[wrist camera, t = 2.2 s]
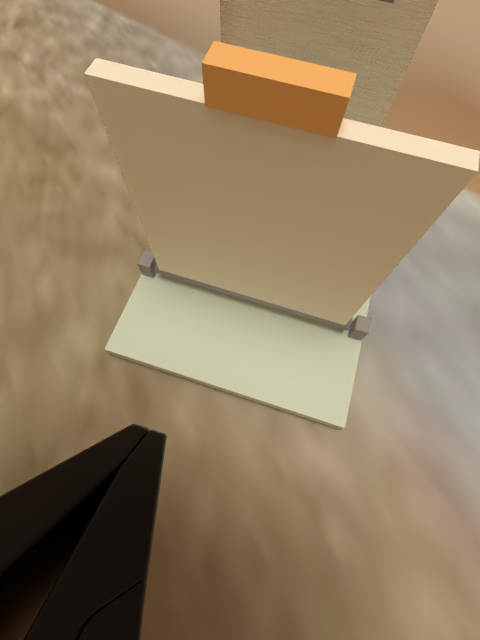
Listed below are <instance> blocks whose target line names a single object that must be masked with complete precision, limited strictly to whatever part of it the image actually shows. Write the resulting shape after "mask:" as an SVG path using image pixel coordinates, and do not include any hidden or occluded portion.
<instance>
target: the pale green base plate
mask: <svg viewBox="0 0 480 640" xmlns="http://www.w3.org/2000/svg"><path fill="white" fill-rule="evenodd" d="M155 264H156V261H155V258H154V255H153V253H148V252H145V251H144V252H143V254H142V256H141V258H140V260H139V262H138V266H139V268H140V270H141V272H142V274H141V276H140V278H139V280H138V282H137V284H136V286H135V288H134V290H133V292H132V295H131V297H130V299H129V301H128V303H127V305H126V307H125V309H124V311H123V313H122V315H121V317H120V319H119V321H118V323H117V325H116V327H115V329H114V331H113V333H112V335H111V337H110V339H109V341H108V343H107V345H106V347H105V350H106V351H107V352H108V353H109V354H111V355H114V356H118V357H121V358H124V359H127V360H130V361H133V362H136V363H139V364H142V365H145V366H148V367H151V368H154V369H157V370H160V371H163V372H166V373H169V374H172V375H175V376H178V377H181V378H184V379H188V380H191V381H194V382H197V383H200V384H203V385H206V386H209V387H212V388H215V389H218V390H221V391H224V392H227V393H230V394H233V395H236V396H239V397H242V398H245V399H248V400H251V401H254V402H258V403H261V404H264V405H267V406H270V407H273V408H276V409H279V410H282V411H285V412H288V413H291V414H294V415H297V416H300V417H303V418H306V419H309V420H312V421H315V422H318V423H321V424H324V425H328V426H331V427H334V428H337V429H343V428H345V425H346V420H347V415H348V409H349V404H350V399H351V394H352V389H353V384H354V379H355V374H356V368H357V363H358V358H359V353H360V348H361V343H362V339H363V338H364V337H365V336H366V335H367V334H368V333H369V328H370V323H371V318H368V317H367V312H368V307H369V302H370V297H371V296H370V297H369V298H368V300H367V301H366V302H365V303H364V304H363V305H362V306H361V308H360V309H359V310H358V311H357V312H356V313H355V315H354V316H353V319H352V323H351V326H350V328H349V330H348V331H347V330H343V329H340V328H337V327H334V326H330V325H327V324H324V323H320V322H317V321H314V320H310V319H307V318H304V317H300V316H297V315H294V314H290V313H287V312H284V311H280V310H277V309H274V308H270V307H267V306H264V305H260V304H257V303H254V302H250V301H247V300H244V299H240V298H237V297H234V296H230V295H227V294H224V293H220V292H217V291H214V290H211V289H207V288H204V287H201V286H197V285H194V284H191V283H187V282H184V281H181V280H177V279H174V278H171V277H167V276H164V275H161V274H157V273H155Z"/></svg>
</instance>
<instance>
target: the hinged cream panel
mask: <svg viewBox="0 0 480 640" xmlns="http://www.w3.org/2000/svg"><path fill="white" fill-rule="evenodd" d="M202 73H203V84H201V83H197V82H193V81H189V80H185V79H180V78H176V77H172V76H168V75H164V74H160V73H156V72H152V71H148V70H143V69H139V68H135V67H131V66H127V65H123V64H119V63H115V62H110V61H106V60H102V59H98V58H96V59H95V60H94V61H93V63H92V64H91V65H90V67H89V68H88V69H87V71H86V72H85V73H84V74H85V77H86V80H87V82H88V85H89V87H90V90H91V93H92V95H93V98H94V101H95V103H96V106H97V108H98V111H99V114H100V116H101V119H102V122H103V124H104V127H105V129H106V132H107V135H108V137H109V140H110V143H111V145H112V148H113V150H114V153H115V156H116V158H117V161H118V164H119V166H120V169H121V171H122V174H123V177H124V179H125V182H126V185H127V187H128V190H129V192H130V195H131V198H132V200H133V203H134V205H135V208H136V211H137V213H138V216H139V219H140V221H141V224H142V226H143V229H144V232H145V234H146V237H147V240H148V242H149V245H150V247H151V250H152V253H153V255H154V258H155V261H156V264H155V273H157V274H161V275H164V276H167V277H171V278H174V279H177V280H181V281H184V282H187V283H191V284H194V285H197V286H201V287H204V288H207V289H211V290H214V291H217V292H220V293H224V294H227V295H230V296H234V297H237V298H240V299H244V300H247V301H250V302H254V303H257V304H260V305H264V306H267V307H270V308H274V309H277V310H280V311H284V312H287V313H290V314H294V315H297V316H300V317H304V318H307V319H310V320H314V321H317V322H320V323H324V324H327V325H330V326H334V327H337V328H340V329H343V330H347V331H348V330H349V328H350V326H351V323H352V319H353V316H354V315H355V313H356V312H357V311H358V310H359V309H360V308H361V306H362V305H363V304H364V303H365V302H366V301H367V300H368V298H369V297H370V296H371V295H372V294H373V293H374V291H375V290H376V289H377V288H378V287H379V286H380V284H381V283H382V282H383V281H384V280H385V279H386V278H387V276H388V275H389V274H390V273H391V272H392V271H393V269H394V268H395V267H396V266H397V265H398V264H399V262H400V261H401V260H402V259H403V258H404V257H405V256H406V254H407V253H408V252H409V251H410V250H411V249H412V247H413V246H414V245H415V244H416V243H417V242H418V240H419V239H420V238H421V237H422V236H423V235H424V234H425V232H426V231H427V230H428V229H429V228H430V227H431V225H432V224H433V223H434V222H435V221H436V220H437V218H438V217H439V216H440V215H441V214H442V213H443V212H444V210H445V209H446V208H447V207H448V206H449V205H450V203H451V202H452V201H453V200H454V199H455V198H456V196H457V195H458V194H459V193H460V192H461V191H462V190H463V188H464V187H465V186H466V185H467V184H468V182H469V181H470V180H471V179H472V178H473V177H474V176H475V174H476V173H477V172H478V167H479V153H480V151H477V150H473V149H469V148H465V147H460V146H456V145H452V144H448V143H444V142H440V141H435V140H432V139H428V138H423V137H419V136H415V135H411V134H406V133H403V132H399V131H395V130H390V129H386V128H382V127H378V126H374V125H370V124H366V123H362V122H358V121H353V120H349V119H345V118H343V117H344V114H345V111H346V108H347V105H348V102H349V99H350V96H351V92H352V89H353V85H354V82H355V79H356V75H357V74H356V73H352V72H348V71H343V70H339V69H335V68H330V67H326V66H322V65H317V64H313V63H309V62H304V61H300V60H295V59H291V58H287V57H282V56H278V55H274V54H269V53H265V52H261V51H256V50H252V49H248V48H243V47H239V46H235V45H230V44H226V43H222V42H217V41H214V42H213V44H212V46H211V48H210V49H209V51H208V53H207V55H206V56H205V58H204V60H203V62H202Z"/></svg>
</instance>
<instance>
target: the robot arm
mask: <svg viewBox="0 0 480 640" xmlns="http://www.w3.org/2000/svg"><path fill="white" fill-rule="evenodd" d="M166 438H167V436H166V434H164V433H161V432H158V431H155V430H149V429H148V428H146V427H143V426H140V425H137V424H132V425H130V426H128V427H126V428H124V429H122V430H121V431H119V432H117V433H115V434H113V435H111V436H110V437H108V438H106V439H104V440H102V441H100V442H99V443H97V444H95V445H93V446H91V447H89V448H88V449H86V450H84V451H82V452H80V453H78V454H77V455H75V456H73V457H71V458H69V459H67V460H66V461H64V462H62V463H60V464H58V465H56V466H55V467H53V468H51V469H49V470H47V471H46V472H44V473H42V474H40V475H38V476H36V477H35V478H33V479H31V480H29V481H27V482H25V483H24V484H22V485H20V486H18V487H16V488H14V489H13V490H11V491H9V492H7V493H5V494H3V495H2V496H0V640H140V636H141V627H142V617H143V608H144V600H145V593H146V586H147V584H146V582H147V577H148V569H149V562H150V555H151V548H152V540H153V533H154V526H155V518H156V511H157V504H158V496H159V489H160V482H161V474H162V467H163V460H164V452H165V445H166Z"/></svg>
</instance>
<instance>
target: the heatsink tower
mask: <svg viewBox="0 0 480 640" xmlns="http://www.w3.org/2000/svg"><path fill="white" fill-rule="evenodd" d="M437 2H438V0H220V18H221V42H222V43H226V44H230V45H235V46H239V47H243V48H248V49H252V50H256V51H261V52H265V53H269V54H274V55H278V56H282V57H287V58H291V59H295V60H300V61H304V62H309V63H313V64H317V65H322V66H326V67H330V68H335V69H339V70H343V71H348V72H352V73H356V74H357V75H356V79H355V82H354V85H353V89H352V92H351V96H350V99H349V102H348V105H347V108H346V111H345V114H344V117H343V118H345V119H349V120H353V121H358V122H362V123H366V124H370V125H374V126H378V127H381V126H382V124H383V121H384V119H385V117H386V115H387V113H388V110H389V108H390V106H391V104H392V101H393V99H394V97H395V95H396V93H397V90H398V88H399V86H400V84H401V82H402V79H403V77H404V75H405V73H406V71H407V68H408V66H409V64H410V62H411V60H412V57H413V55H414V53H415V51H416V48H417V46H418V44H419V42H420V40H421V38H422V35H423V33H424V31H425V28H426V27H427V24H428V22H429V20H430V18H431V16H432V13H433V11H434V9H435V7H436V5H437Z"/></svg>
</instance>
